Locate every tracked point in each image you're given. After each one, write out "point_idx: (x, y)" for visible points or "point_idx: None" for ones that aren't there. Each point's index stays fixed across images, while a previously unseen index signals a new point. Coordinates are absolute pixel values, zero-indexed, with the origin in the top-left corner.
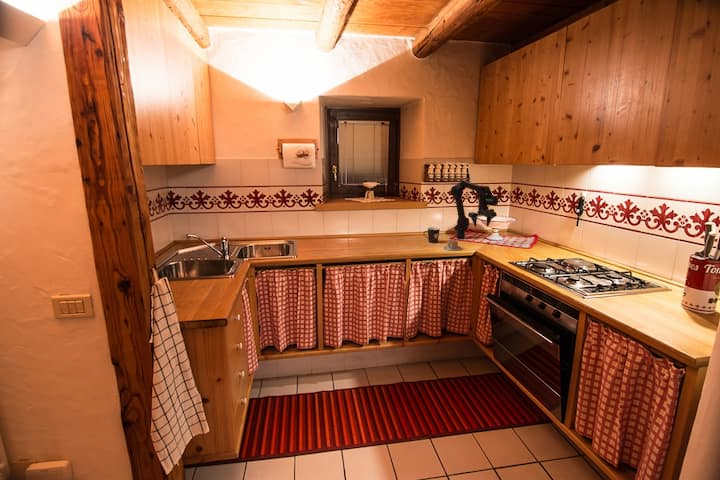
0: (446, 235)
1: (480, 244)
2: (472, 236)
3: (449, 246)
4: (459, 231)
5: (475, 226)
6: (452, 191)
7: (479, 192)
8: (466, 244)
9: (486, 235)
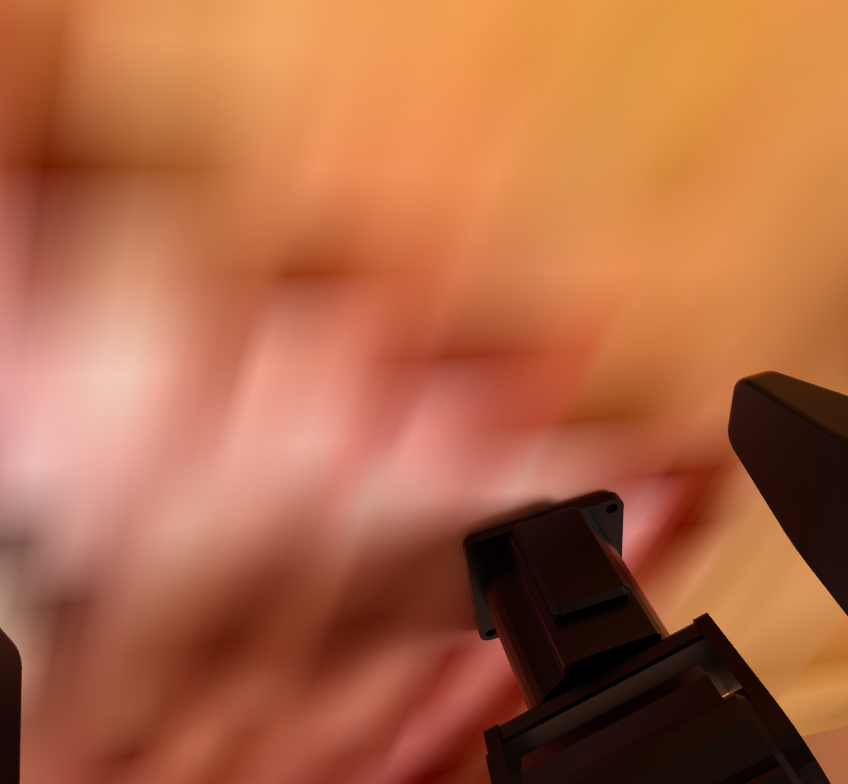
0: None
1: (316, 47)
2: (294, 680)
3: None
4: (661, 631)
5: (804, 381)
6: None
7: None
8: (679, 70)
9: None
